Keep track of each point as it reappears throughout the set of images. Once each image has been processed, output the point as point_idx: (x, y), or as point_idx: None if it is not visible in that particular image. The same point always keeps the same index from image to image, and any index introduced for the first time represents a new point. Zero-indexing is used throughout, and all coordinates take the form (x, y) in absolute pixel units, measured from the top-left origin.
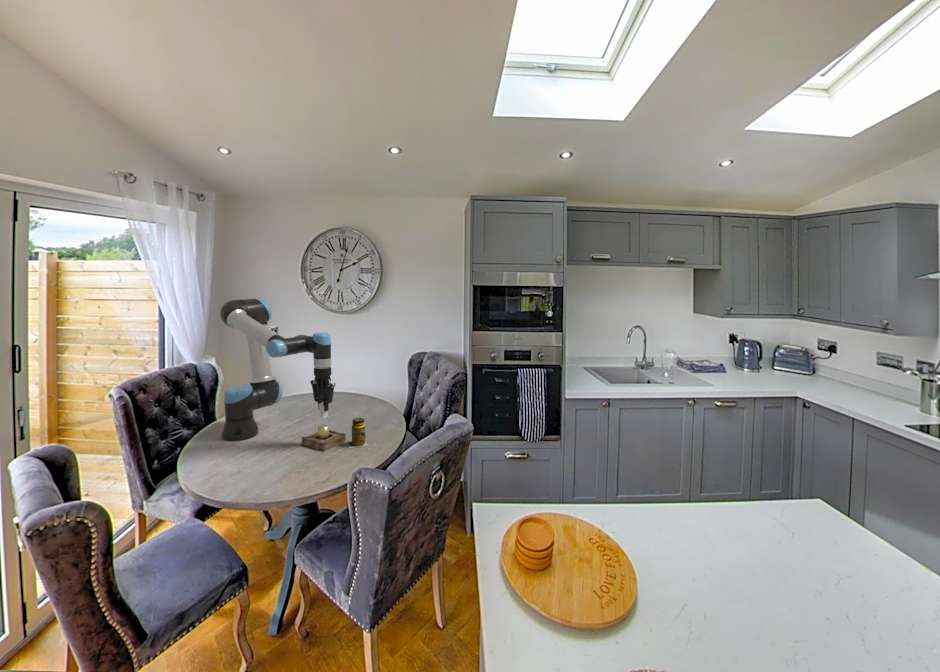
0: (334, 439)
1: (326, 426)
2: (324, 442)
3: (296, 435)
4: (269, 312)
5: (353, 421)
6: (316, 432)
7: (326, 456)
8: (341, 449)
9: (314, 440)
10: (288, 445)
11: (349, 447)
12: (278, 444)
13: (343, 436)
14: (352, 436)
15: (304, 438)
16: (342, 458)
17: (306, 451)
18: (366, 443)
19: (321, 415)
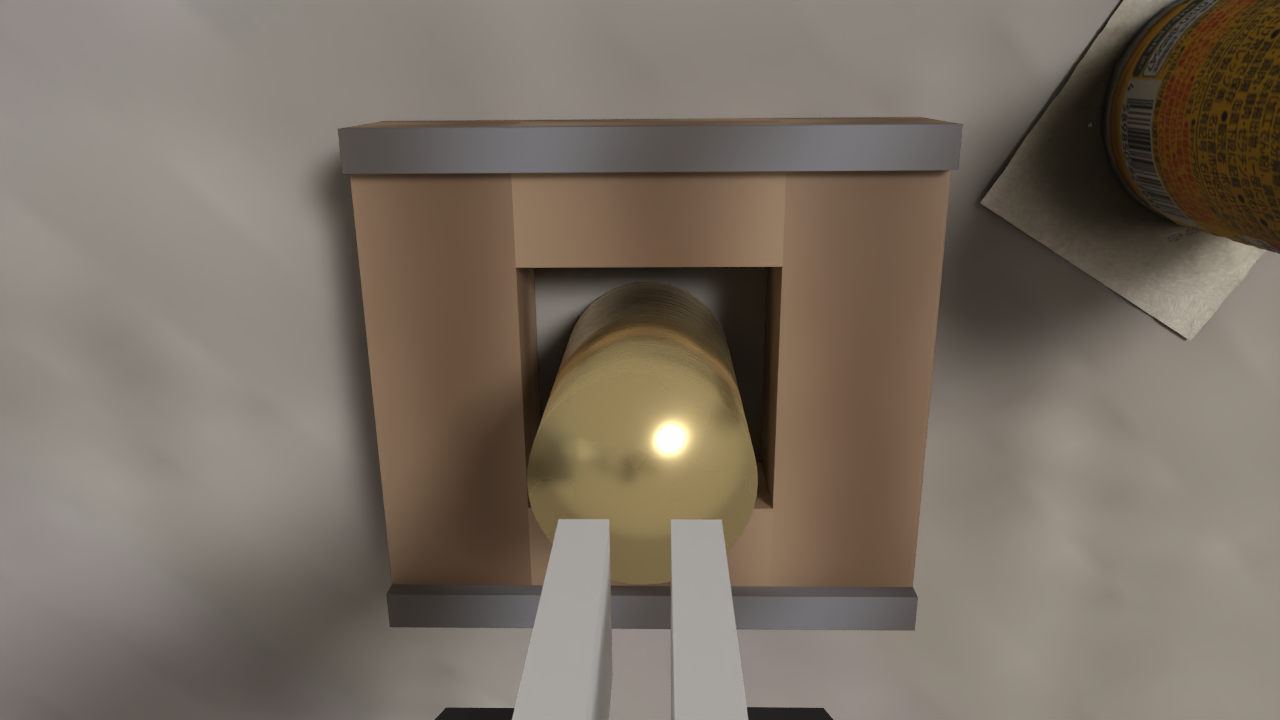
0: (911, 401)
1: (707, 455)
2: (875, 605)
3: (27, 347)
4: None
5: None
6: (376, 313)
7: (1016, 670)
8: (1071, 415)
9: (668, 620)
10: (283, 651)
11: (1155, 308)
12: (143, 686)
13: (944, 182)
14: (1256, 246)
15: (452, 623)
16: (1263, 623)
17: (657, 677)
18: None
19: (608, 683)
